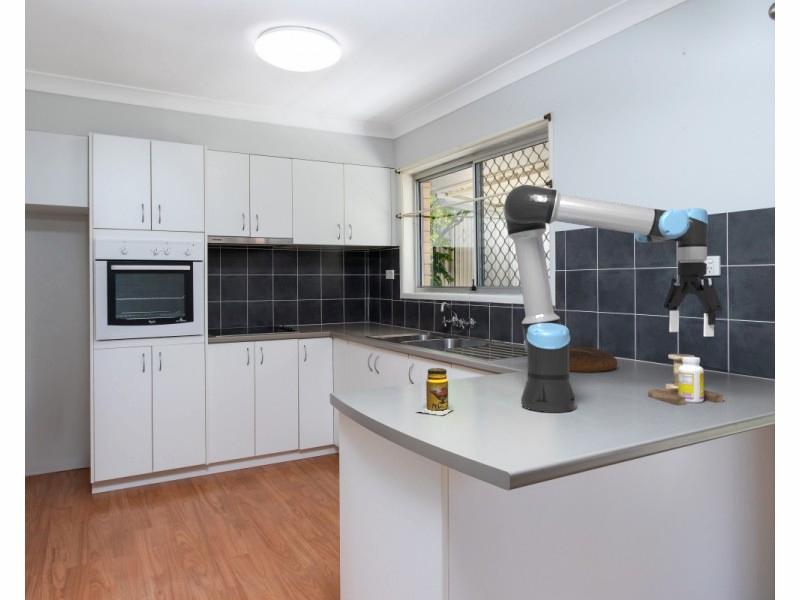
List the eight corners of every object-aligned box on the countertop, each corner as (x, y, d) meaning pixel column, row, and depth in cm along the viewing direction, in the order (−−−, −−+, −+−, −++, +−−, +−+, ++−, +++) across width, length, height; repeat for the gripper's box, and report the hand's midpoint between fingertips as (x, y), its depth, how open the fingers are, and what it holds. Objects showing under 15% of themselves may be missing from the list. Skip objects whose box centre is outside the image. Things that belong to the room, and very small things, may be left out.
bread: (586, 376, 201) (586, 353, 201) (532, 367, 224) (532, 346, 224) (632, 369, 216) (632, 347, 216) (578, 361, 239) (578, 341, 239)
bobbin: (679, 393, 169) (679, 357, 168) (659, 387, 178) (659, 354, 177) (703, 391, 171) (703, 356, 170) (682, 386, 180) (682, 353, 179)
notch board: (676, 405, 153) (676, 398, 153) (648, 396, 165) (648, 389, 165) (723, 401, 156) (723, 394, 156) (692, 393, 168) (692, 387, 168)
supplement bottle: (697, 398, 161) (698, 356, 161) (707, 403, 155) (708, 359, 154) (674, 398, 162) (674, 356, 161) (683, 403, 155) (684, 359, 155)
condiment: (443, 416, 143) (442, 372, 143) (415, 413, 147) (414, 369, 147) (454, 410, 149) (453, 368, 149) (427, 407, 154) (426, 366, 153)
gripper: (738, 260, 145) (736, 338, 146) (672, 263, 170) (671, 329, 170) (715, 260, 144) (713, 338, 144) (652, 263, 168) (650, 330, 169)
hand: (690, 334), depth 157 cm, fingers open, 13 cm apart
